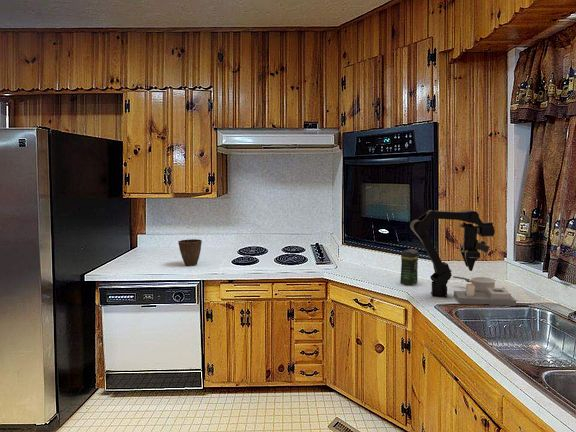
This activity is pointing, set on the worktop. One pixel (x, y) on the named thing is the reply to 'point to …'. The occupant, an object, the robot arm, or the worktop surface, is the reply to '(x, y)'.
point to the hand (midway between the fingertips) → (469, 268)
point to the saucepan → (480, 283)
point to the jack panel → (486, 297)
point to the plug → (470, 290)
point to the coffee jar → (409, 267)
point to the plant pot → (190, 251)
